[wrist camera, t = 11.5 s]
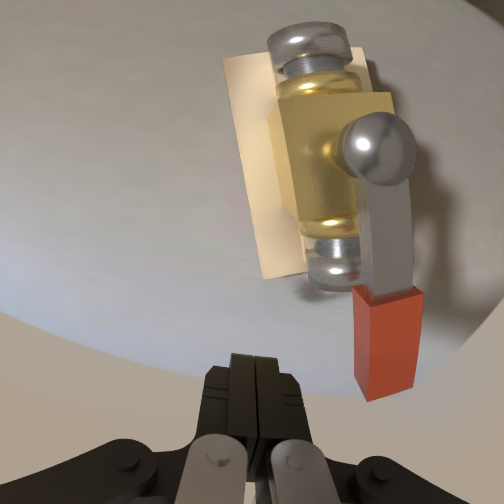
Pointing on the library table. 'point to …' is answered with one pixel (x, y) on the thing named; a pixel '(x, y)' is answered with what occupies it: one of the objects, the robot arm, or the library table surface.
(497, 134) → the library table surface
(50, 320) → the library table surface
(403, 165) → the valve lever
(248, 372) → the robot arm
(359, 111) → the valve body
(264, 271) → the pipe board
